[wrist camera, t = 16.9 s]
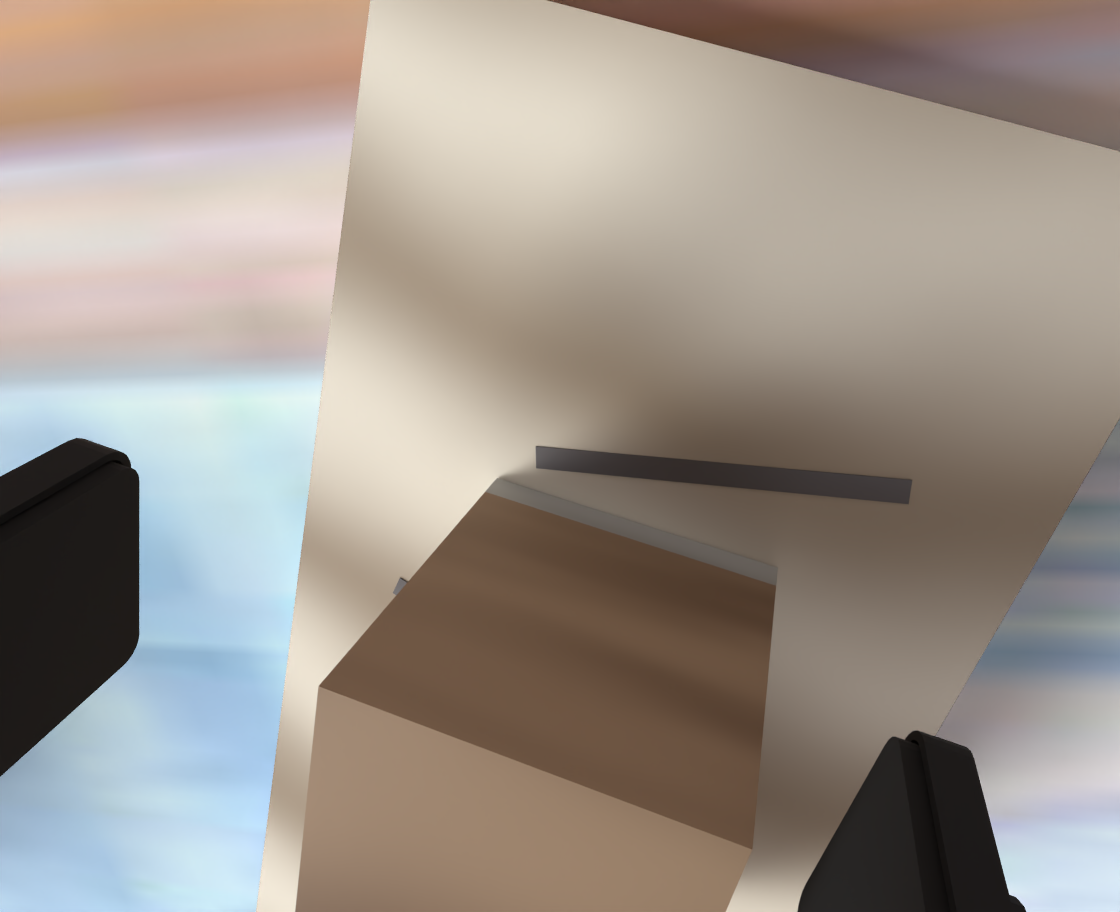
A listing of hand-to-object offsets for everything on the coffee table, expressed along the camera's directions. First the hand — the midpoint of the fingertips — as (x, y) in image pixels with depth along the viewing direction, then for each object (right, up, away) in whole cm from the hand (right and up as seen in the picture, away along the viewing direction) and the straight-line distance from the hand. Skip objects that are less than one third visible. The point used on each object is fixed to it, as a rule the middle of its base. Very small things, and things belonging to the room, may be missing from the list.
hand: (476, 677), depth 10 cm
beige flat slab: (+2, -1, +7) cm, 8 cm away
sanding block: (+1, -2, +6) cm, 7 cm away
